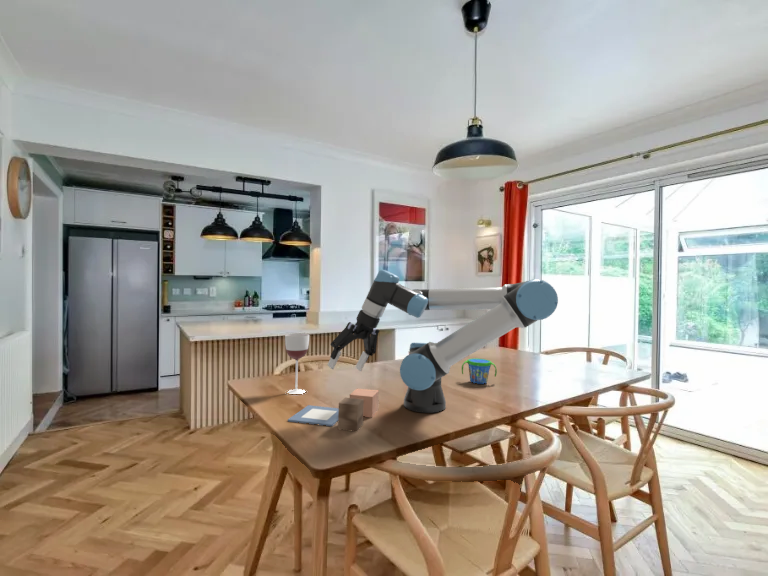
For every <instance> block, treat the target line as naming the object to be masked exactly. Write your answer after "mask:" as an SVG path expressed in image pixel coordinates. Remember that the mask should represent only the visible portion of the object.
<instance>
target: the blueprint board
mask: <svg viewBox="0 0 768 576" xmlns="http://www.w3.org/2000/svg"><path fill="white" fill-rule="evenodd" d="M338 414H339V407H338V408H337V407H330V406H329V407H328V406H319V405H310V404H308V405H306V406H305V407H304V408H302V409H301V410H300V411H298V412H297V413H295V414H293V415H292V416H290V417H289V418H288V419H287V422H290V423H291V422H292V423H298V422H299V424H306V423H309V425H314V424H319V425H318V426H323V425H326V427H331V426H332V427H333V426H334V425H336V424H337V423H336V422H337V421H338Z"/></svg>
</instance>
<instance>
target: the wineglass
mask: <svg viewBox="0 0 768 576" xmlns="http://www.w3.org/2000/svg"><path fill="white" fill-rule="evenodd" d="M284 344H285V351H286V353H287V356H289V357H290V358H291V359H293V360H295V373H294V374H295V378H294V380H295V383H294V384H295V385H294V387H295V388H294V389H293V390H292V389H288V390H289V391H288V390H287V391H288V392H287V393H289V394H302V395H304V394H303V393H305V392H306V391H307V390H306V389H303V388H302V389H303V390H302V389H301V388H298V380H299V379H298V376H299V375H298V374H299V373H298V371H299V360H300V359H301V358H303V357H304V356H306V354H307V353H308V350H309V346H310V334H309V333H301V332H300V333H299V332H298V333H297V332H295V333H286V334H285V335H284ZM305 390H306V391H305ZM305 394H306V393H305Z"/></svg>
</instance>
